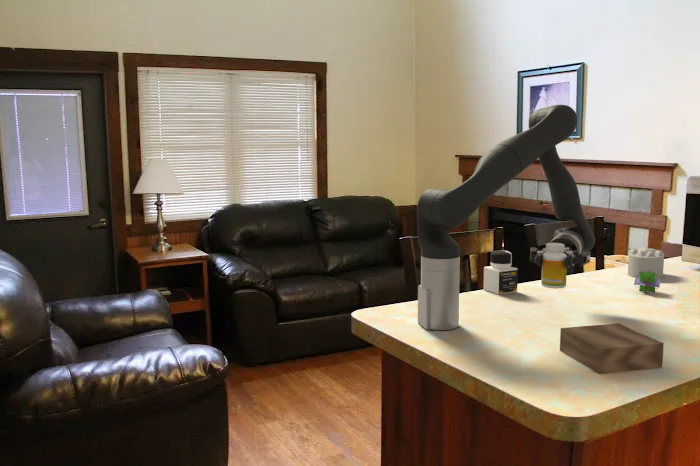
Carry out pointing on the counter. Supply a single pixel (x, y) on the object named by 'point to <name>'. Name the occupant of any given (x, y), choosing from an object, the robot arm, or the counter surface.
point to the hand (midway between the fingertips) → (552, 262)
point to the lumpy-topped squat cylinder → (645, 261)
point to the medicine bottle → (500, 274)
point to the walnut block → (611, 348)
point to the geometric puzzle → (647, 281)
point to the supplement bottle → (554, 266)
